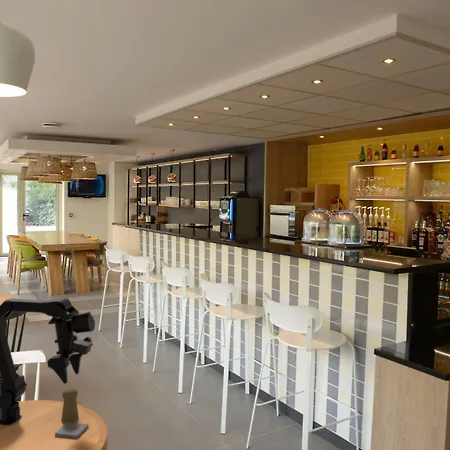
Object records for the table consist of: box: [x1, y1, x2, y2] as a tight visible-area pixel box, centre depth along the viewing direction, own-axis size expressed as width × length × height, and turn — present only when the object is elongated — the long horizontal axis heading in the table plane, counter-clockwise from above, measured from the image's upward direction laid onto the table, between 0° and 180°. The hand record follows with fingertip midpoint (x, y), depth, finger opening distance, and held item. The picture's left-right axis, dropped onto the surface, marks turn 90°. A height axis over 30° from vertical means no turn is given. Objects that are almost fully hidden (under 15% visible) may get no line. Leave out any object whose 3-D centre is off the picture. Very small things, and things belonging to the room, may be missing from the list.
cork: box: [61, 387, 80, 424], centre depth 165 cm, size 6×6×11 cm
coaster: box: [54, 422, 89, 439], centre depth 156 cm, size 8×8×1 cm
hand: (71, 378), depth 161 cm, fingers open, 9 cm apart
